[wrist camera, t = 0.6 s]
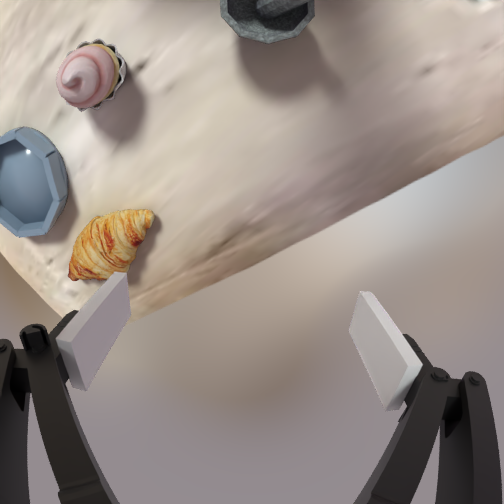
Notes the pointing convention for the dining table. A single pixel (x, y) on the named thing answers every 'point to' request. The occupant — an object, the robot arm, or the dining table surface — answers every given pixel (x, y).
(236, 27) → the mortar and pestle
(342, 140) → the dining table surface
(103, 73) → the cupcake
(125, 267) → the croissant
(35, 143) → the octagonal dish
